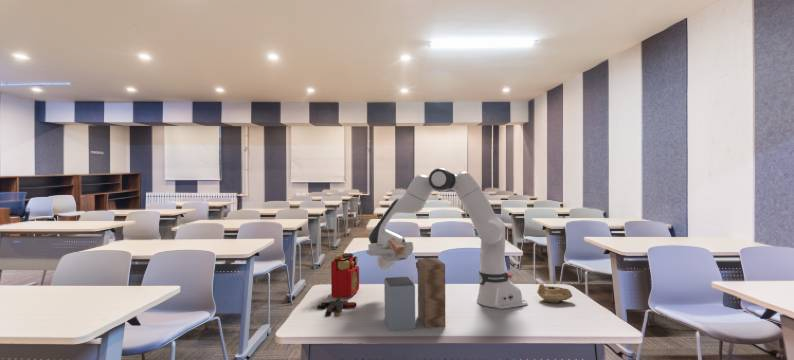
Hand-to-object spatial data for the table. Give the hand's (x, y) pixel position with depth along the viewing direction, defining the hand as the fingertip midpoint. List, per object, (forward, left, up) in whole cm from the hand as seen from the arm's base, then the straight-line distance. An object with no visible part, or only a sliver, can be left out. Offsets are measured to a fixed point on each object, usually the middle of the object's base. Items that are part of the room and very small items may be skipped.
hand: (392, 242), depth 161 cm
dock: (0, +15, -30) cm, 33 cm away
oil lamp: (-76, +2, -30) cm, 82 cm away
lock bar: (0, +7, -2) cm, 7 cm away
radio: (+19, -29, -30) cm, 46 cm away
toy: (+25, -7, -30) cm, 40 cm away
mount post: (-13, +15, -30) cm, 36 cm away
